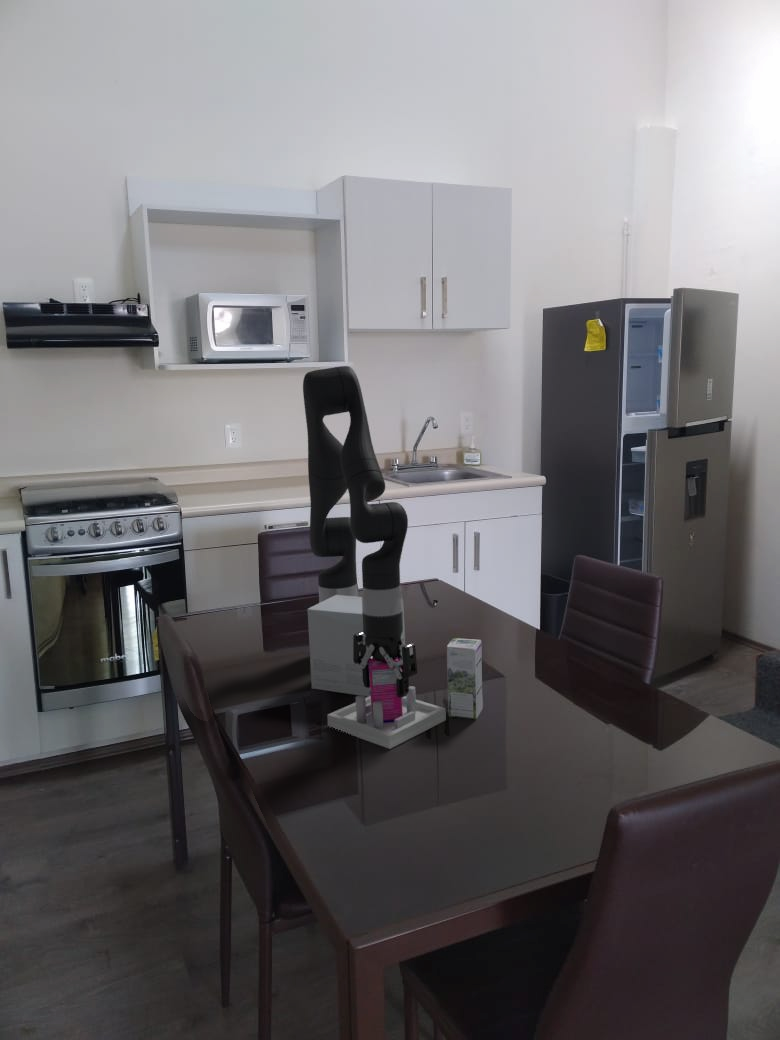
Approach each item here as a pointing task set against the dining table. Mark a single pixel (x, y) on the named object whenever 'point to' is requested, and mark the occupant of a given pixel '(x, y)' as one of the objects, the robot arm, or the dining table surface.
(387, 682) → the supplement box
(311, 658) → the supplement box
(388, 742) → the tray
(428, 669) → the dining table surface
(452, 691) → the syrup box
